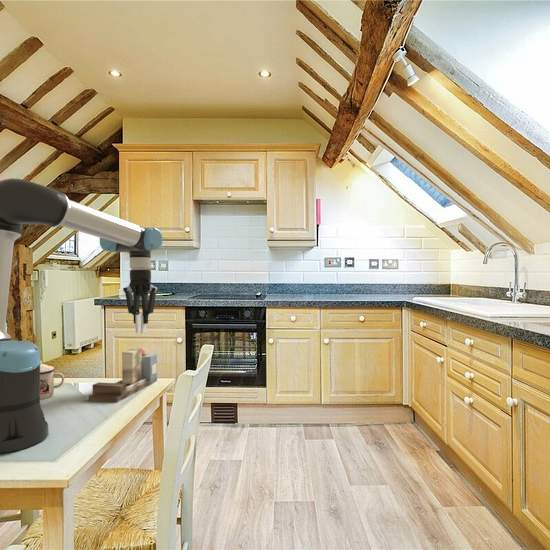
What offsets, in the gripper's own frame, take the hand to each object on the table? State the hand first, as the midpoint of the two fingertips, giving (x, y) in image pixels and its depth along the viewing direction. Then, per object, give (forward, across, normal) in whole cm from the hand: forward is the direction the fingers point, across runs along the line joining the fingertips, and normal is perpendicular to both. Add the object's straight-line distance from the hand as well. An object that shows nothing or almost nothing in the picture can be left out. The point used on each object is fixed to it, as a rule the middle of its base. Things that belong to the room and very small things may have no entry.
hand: (141, 332), depth 150 cm
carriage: (+17, 0, +6) cm, 18 cm away
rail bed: (+18, 0, +10) cm, 21 cm away
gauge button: (+10, 0, 0) cm, 10 cm away
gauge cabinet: (+18, 0, 0) cm, 18 cm away
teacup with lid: (+19, +23, +22) cm, 37 cm away
